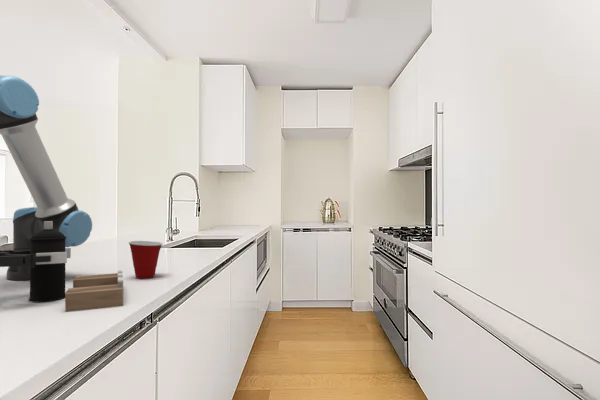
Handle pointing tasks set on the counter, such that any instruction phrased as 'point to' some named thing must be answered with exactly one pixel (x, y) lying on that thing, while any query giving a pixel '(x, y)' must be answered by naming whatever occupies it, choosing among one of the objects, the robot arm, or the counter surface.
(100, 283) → the cutout stand
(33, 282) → the aerosol can
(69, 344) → the counter surface
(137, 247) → the plastic cup
